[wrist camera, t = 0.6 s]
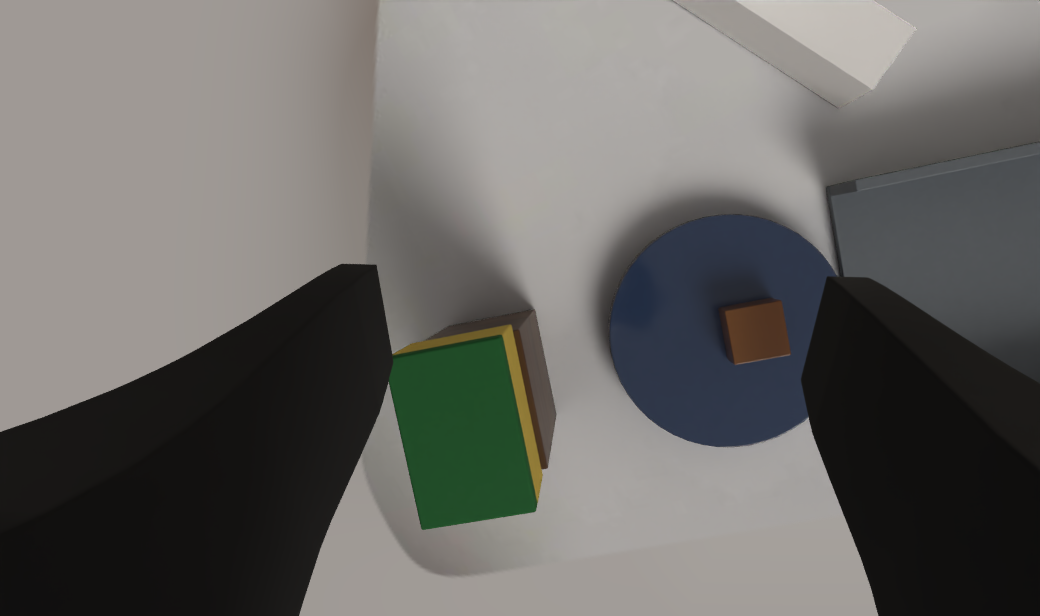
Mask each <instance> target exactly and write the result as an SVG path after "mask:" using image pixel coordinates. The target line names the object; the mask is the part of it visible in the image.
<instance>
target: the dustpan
mask: <svg viewBox="0 0 1040 616" xmlns="http://www.w3.org/2000/svg"><path fill="white" fill-rule="evenodd" d="M826 191H827V197H828V203H829V209H830V214H831V220H832V226H833V232H834V238H835V244H836V250H837V256H838V262H839V268H840V274H841V277H869V278H871V279H873V280H875V281H877V282H878V283H880V284H882V285H884V286H885V287H887V288H889V289H890V290H892V291H894V292H895V293H897V294H898V295H900V296H901V297H903V298H905V299H906V300H908V301H909V302H911V303H912V304H914V305H915V306H917V307H918V308H920V309H921V310H923V311H924V312H926V313H928V314H929V315H931V316H932V317H934V318H935V319H937V320H938V321H940V322H941V323H943V324H944V325H946V326H947V327H949V328H950V329H952V330H953V331H955V332H956V333H958V334H960V335H961V336H963V337H964V338H966V339H967V340H969V341H970V342H972V343H974V344H975V345H977V346H978V347H980V348H982V349H983V350H985V351H986V352H988V353H990V354H991V355H993V356H994V357H996V358H998V359H999V360H1001V361H1003V362H1004V363H1006V364H1007V365H1009V366H1011V367H1012V368H1014V369H1016V370H1018V371H1019V372H1021V373H1023V374H1025V375H1026V376H1028V377H1030V378H1032V379H1033V380H1035V381H1037V382H1038V383H1040V142H1035V143H1031V144H1026V145H1021V146H1016V147H1011V148H1006V149H1002V150H997V151H992V152H987V153H982V154H977V155H973V156H968V157H963V158H958V159H953V160H948V161H944V162H939V163H934V164H929V165H924V166H919V167H915V168H910V169H905V170H900V171H895V172H890V173H886V174H881V175H876V176H871V177H866V178H862V179H857V180H852V181H848V182H844V183H840V184H836V185H832V186H827V187H826Z"/></svg>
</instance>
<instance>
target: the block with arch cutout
mask: <svg viewBox="0 0 1040 616" xmlns="http://www.w3.org/2000/svg"><path fill="white" fill-rule="evenodd" d="M673 1H674V2H676V3H677V4H679V5H680V6H682V7H684V8H685V9H687V10H688V11H690V12H691V13H693V14H694V15H696V16H697V17H699V18H700V19H702V20H704V21H705V22H707V23H708V24H710V25H711V26H713V27H714V28H716V29H717V30H719V31H720V32H722V33H723V34H725V35H727V36H728V37H730V38H731V39H733V40H734V41H736V42H737V43H739V44H740V45H742V46H743V47H745V48H747V49H748V50H750V51H751V52H753V53H754V54H756V55H757V56H759V57H760V58H762V59H763V60H765V61H767V62H768V63H770V64H771V65H773V66H774V67H776V68H777V69H779V70H780V71H782V72H783V73H785V74H786V75H788V76H790V77H791V78H793V79H794V80H796V81H797V82H799V83H800V84H802V85H803V86H805V87H806V88H808V89H810V90H811V91H813V92H814V93H816V94H817V95H819V96H820V97H822V98H823V99H825V100H826V101H828V102H830V103H831V104H833V105H834V106H836V107H837V108H841V107H842V106H844V105H846V104H848V103H850V102H852V101H854V100H855V99H857V98H859V97H861V96H863V95H865V94H867V93H868V92H870V91H872V90H873V89H874V88H875V87H876V85H877V84H878V82H879V81H880V80H881V78H882V77H883V75H884V74H885V73H886V71H887V70H888V68H889V67H890V66H891V64H892V63H893V61H894V60H895V59H896V57H897V56H898V54H899V53H900V52H901V50H902V49H903V47H904V46H905V45H906V43H907V42H908V40H909V39H910V38H911V36H912V35H913V33H914V32H915V31H916V29H917V28H915V27H914V26H912V25H911V24H909V23H908V22H906V21H905V20H903V19H901V18H900V17H898V16H897V15H895V14H894V13H892V12H891V11H889V10H887V9H886V8H884V7H883V6H881V5H880V4H878V3H877V2H875V1H873V0H673Z"/></svg>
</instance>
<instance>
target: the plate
mask: <svg viewBox="0 0 1040 616" xmlns="http://www.w3.org/2000/svg"><path fill="white" fill-rule="evenodd" d="M827 276H835V277H837V276H836V274H835V272H834V270H833V268H832V267H831V265H830V264H829V263H828V261H827V260H826V259H825V258H824V256H823V255H822V254H821V253H820V252H819V251H818V250H817V249H816V248H815V247H814V246H813V245H812V244H811V243H810V242H808V241H807V240H806V239H805V238H803V237H802V236H801V235H799V234H798V233H796V232H794V231H792V230H791V229H789V228H787V227H785V226H783V225H781V224H778V223H776V222H773V221H771V220H767V219H763V218H759V217H755V216H748V215H739V214H728V215H716V216H709V217H703V218H700V219H696V220H692V221H689V222H686V223H683V224H681V225H679V226H676V227H674V228H672V229H670V230H668V231H667V232H665V233H663V234H662V235H660V236H659V237H657V238H656V239H655V240H653V241H652V242H651V243H649V244H648V245H647V246H646V247H645V248H644V249H643V250H642V251H641V252H640V253H639V254H638V255H637V256H636V257H635V259H634V260H633V261H632V262H631V264H630V265H629V266H628V268H627V269H626V271H625V273H624V275H623V276H622V278H621V280H620V282H619V284H618V287H617V289H616V291H615V294H614V297H613V301H612V305H611V309H610V316H609V343H610V351H611V355H612V359H613V362H614V366H615V370H616V372H617V374H618V377H619V379H620V382H621V384H622V385H623V387H624V389H625V390H626V392H627V394H628V396H629V397H630V398H631V399H632V401H633V402H634V403H635V405H636V406H637V407H638V408H639V409H640V410H641V411H642V412H643V413H644V414H645V415H646V416H647V417H648V418H649V419H650V420H652V421H653V422H654V423H656V424H657V425H658V426H659V427H661V428H663V429H664V430H666V431H668V432H670V433H671V434H673V435H675V436H678V437H680V438H683V439H685V440H687V441H691V442H694V443H698V444H702V445H708V446H715V447H740V446H749V445H753V444H757V443H762V442H765V441H768V440H771V439H773V438H776V437H779V436H780V435H782V434H784V433H786V432H788V431H790V430H792V429H793V428H795V427H796V426H798V425H799V424H801V423H802V422H804V421H805V420H806V419H807V418H808V417H809V416H808V412H807V408H806V403H805V398H804V393H803V388H802V384H801V376H802V372H803V368H804V364H805V361H806V357H807V353H808V349H809V345H810V341H811V337H812V333H813V329H814V325H815V321H816V317H817V313H818V310H819V306H820V302H821V298H822V294H823V290H824V286H825V282H826V278H827ZM767 298H774V299H778V300H781V301H782V305H783V311H784V317H785V322H786V328H787V334H788V339H789V345H790V351H791V355H789V356H783V357H777V358H772V359H766V360H761V361H755V362H750V363H744V364H739V365H734V364H733V363H732V362H730V361H729V360H728V359H727V354H726V348H725V343H724V337H723V332H722V326H721V321H720V315H719V310H718V309H719V308H720V307H725V306H731V305H736V304H741V303H746V302H752V301H757V300H762V299H767Z"/></svg>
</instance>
